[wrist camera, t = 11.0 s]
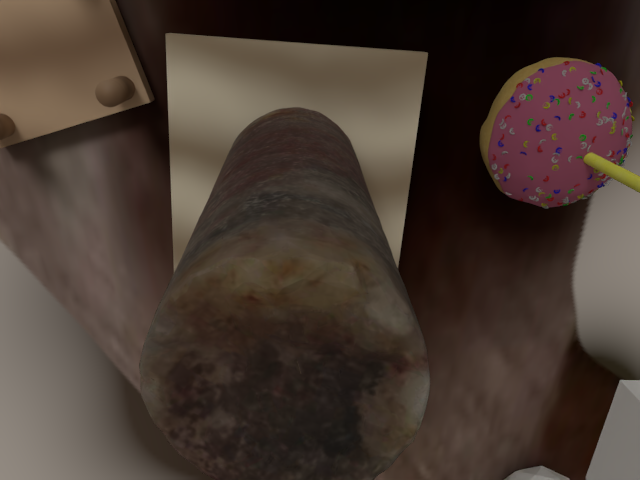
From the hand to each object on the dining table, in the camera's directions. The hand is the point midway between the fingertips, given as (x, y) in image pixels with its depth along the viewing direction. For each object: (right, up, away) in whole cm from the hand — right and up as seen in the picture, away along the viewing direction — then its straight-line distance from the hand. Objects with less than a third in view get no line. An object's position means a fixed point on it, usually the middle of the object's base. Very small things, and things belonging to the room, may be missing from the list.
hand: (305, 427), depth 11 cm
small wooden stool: (-2, +9, +24) cm, 25 cm away
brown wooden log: (-1, +8, +20) cm, 22 cm away
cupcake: (+14, +12, +24) cm, 30 cm away
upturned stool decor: (-16, +16, +20) cm, 30 cm away
